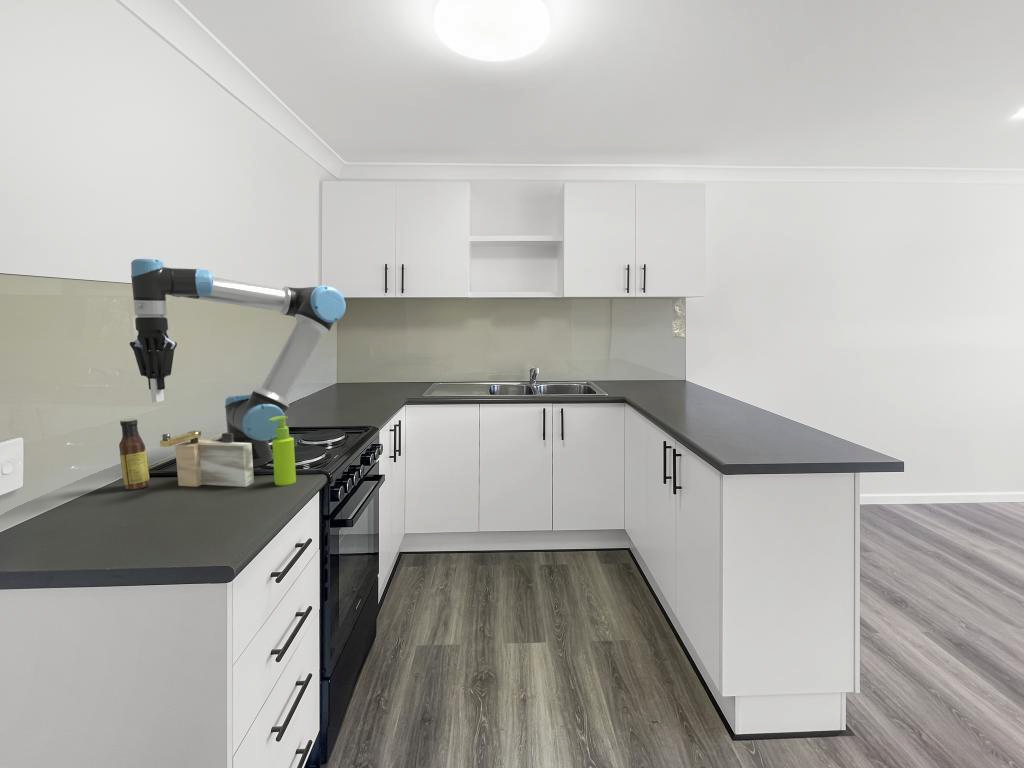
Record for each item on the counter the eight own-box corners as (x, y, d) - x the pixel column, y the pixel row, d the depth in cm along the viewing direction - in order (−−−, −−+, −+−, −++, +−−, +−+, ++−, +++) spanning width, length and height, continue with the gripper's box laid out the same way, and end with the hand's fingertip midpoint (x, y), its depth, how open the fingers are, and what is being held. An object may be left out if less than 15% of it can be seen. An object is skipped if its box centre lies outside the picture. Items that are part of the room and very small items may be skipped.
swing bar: (192, 435, 167) (192, 425, 166) (202, 436, 166) (201, 425, 166) (159, 446, 154) (158, 434, 153) (169, 446, 153) (168, 435, 153)
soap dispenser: (267, 484, 164) (263, 417, 161) (286, 478, 170) (283, 413, 167) (281, 487, 161) (277, 419, 158) (300, 481, 167) (296, 415, 165)
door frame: (197, 477, 171) (194, 430, 169) (258, 480, 168) (255, 432, 166) (178, 485, 163) (174, 436, 161) (241, 488, 160) (238, 438, 158)
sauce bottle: (155, 484, 164) (149, 417, 162) (139, 491, 158) (132, 422, 156) (134, 483, 165) (128, 417, 163) (117, 490, 159) (110, 421, 156)
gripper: (118, 316, 151) (126, 402, 154) (161, 316, 149) (168, 404, 152) (141, 316, 159) (147, 398, 162) (182, 316, 157) (188, 399, 160)
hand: (158, 401), depth 157 cm, fingers closed
